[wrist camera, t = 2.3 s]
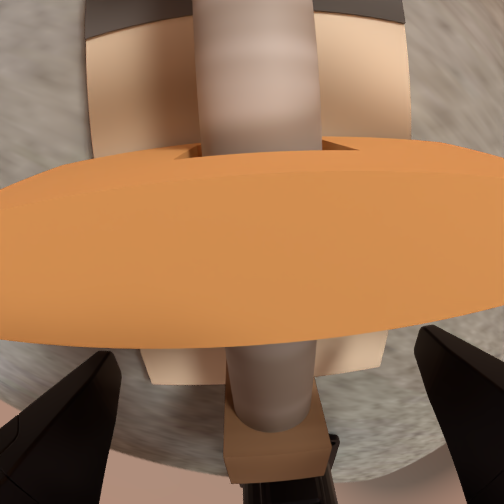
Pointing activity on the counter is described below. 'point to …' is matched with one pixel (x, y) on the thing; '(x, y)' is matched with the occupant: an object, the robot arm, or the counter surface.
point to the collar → (250, 244)
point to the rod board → (252, 141)
